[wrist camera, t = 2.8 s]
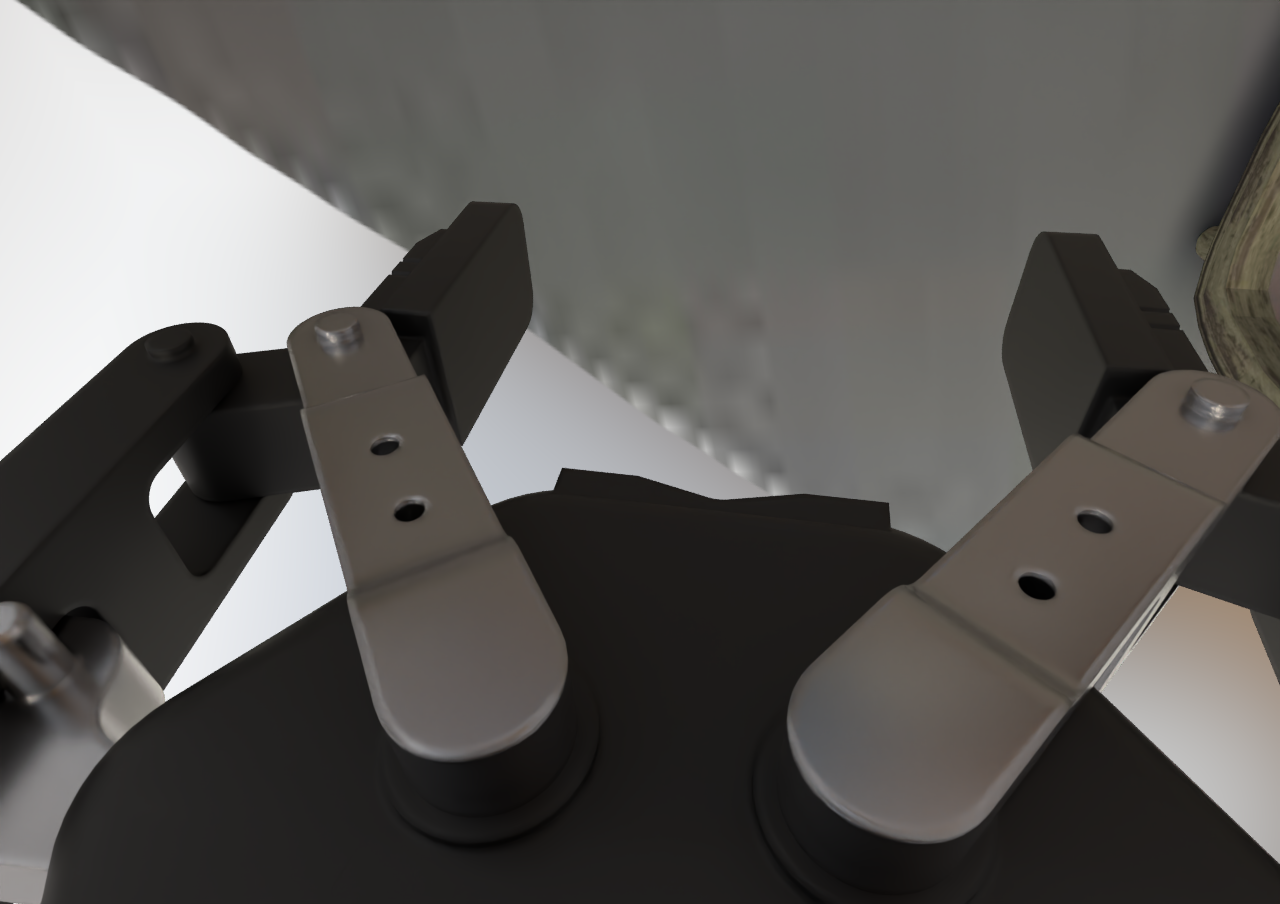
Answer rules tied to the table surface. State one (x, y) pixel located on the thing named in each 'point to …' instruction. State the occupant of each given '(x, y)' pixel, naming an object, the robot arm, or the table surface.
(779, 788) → the robot arm
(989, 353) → the table surface
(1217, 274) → the tabletop clock
